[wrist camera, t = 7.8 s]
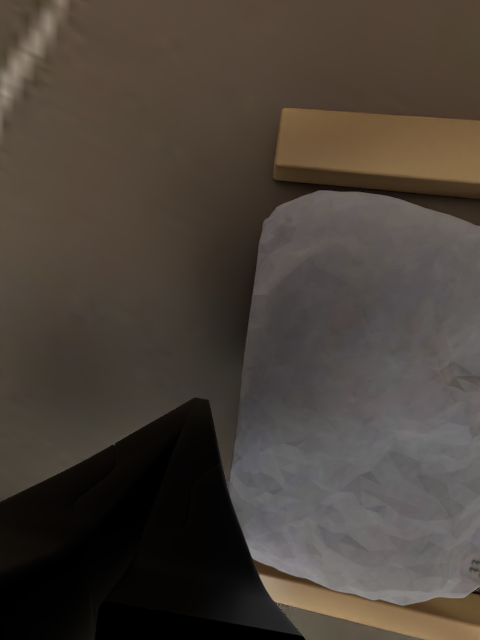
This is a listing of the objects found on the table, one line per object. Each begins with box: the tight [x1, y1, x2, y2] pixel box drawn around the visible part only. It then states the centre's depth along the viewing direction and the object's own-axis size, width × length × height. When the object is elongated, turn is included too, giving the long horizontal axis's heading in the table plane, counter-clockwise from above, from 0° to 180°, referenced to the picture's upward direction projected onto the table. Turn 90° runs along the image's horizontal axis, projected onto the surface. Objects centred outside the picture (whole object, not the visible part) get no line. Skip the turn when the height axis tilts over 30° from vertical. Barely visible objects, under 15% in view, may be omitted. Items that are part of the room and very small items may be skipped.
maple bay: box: [252, 108, 480, 640], centre depth 8 cm, size 20×16×1 cm
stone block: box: [228, 191, 480, 606], centre depth 8 cm, size 12×5×10 cm
